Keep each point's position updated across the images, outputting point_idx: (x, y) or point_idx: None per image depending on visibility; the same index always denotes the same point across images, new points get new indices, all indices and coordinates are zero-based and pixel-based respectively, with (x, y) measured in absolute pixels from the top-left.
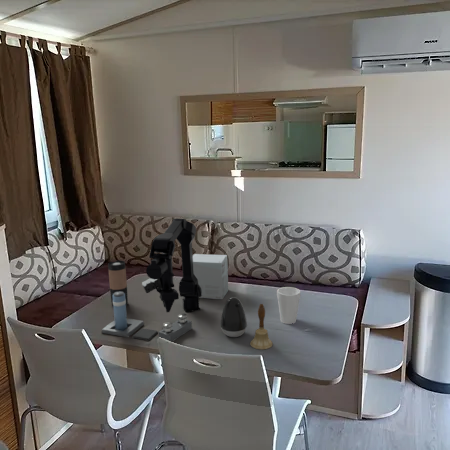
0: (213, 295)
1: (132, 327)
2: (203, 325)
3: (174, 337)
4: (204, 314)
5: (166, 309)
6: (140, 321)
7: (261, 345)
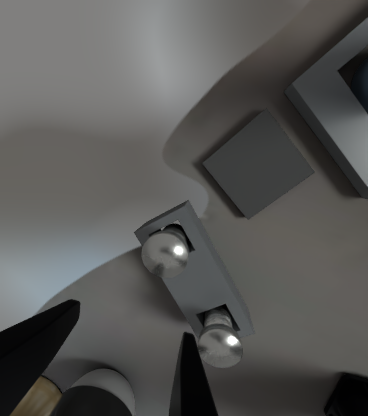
0: None
1: (344, 126)
2: None
3: None
4: (280, 401)
5: (32, 319)
6: None
7: None
